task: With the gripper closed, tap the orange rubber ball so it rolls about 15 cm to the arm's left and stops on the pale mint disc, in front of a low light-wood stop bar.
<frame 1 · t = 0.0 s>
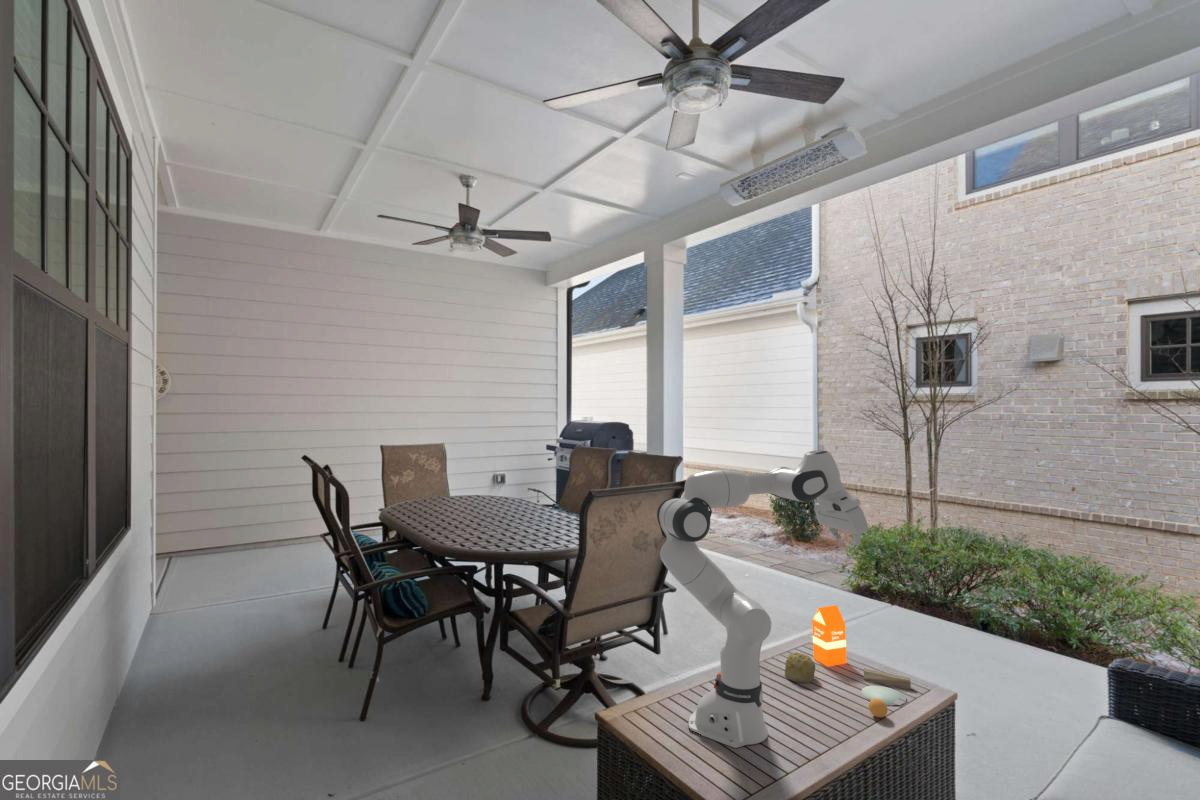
hand: (847, 541, 166), 52 cm above the table, tool tilted 20°, fingers open, 8 cm apart
ball: (878, 708, 161), on the table
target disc: (883, 695, 174), on the table
stop bar: (887, 683, 182), on the table
orange juice: (830, 661, 201), on the table
rock: (800, 678, 188), on the table
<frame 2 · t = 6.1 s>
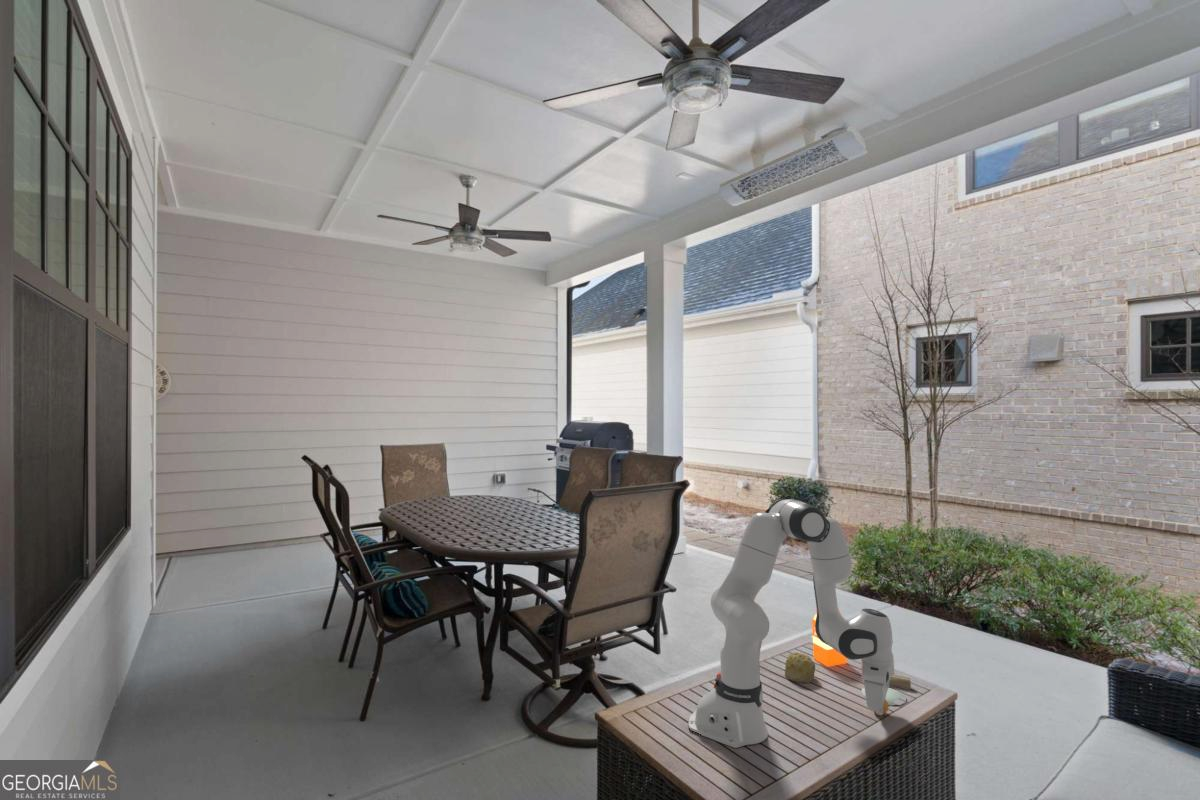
hand: (879, 712, 160), 2 cm above the table, tool pointing down, fingers closed
ball: (879, 704, 163), on the table, touching gripper
everything else where it was.
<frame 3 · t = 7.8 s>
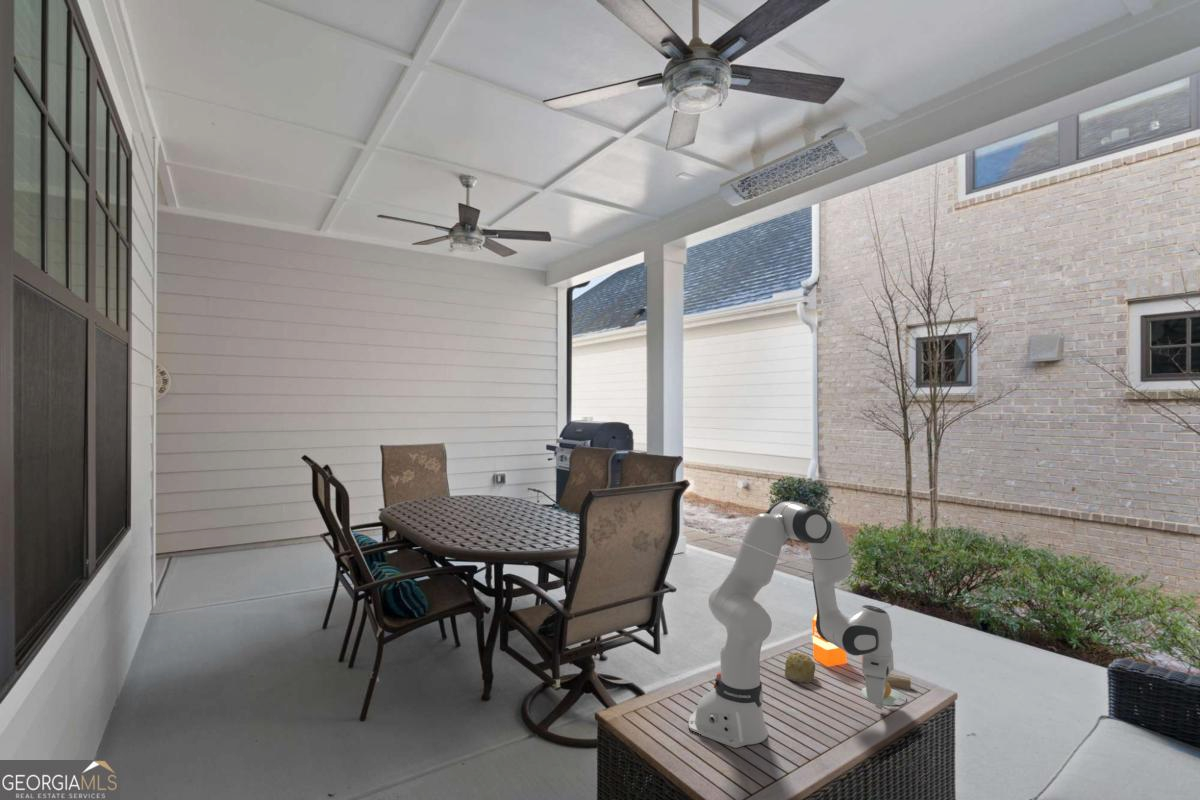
hand: (879, 706, 164), 2 cm above the table, tool pointing down, fingers closed
ball: (882, 688, 174), on the table
everything else where it was.
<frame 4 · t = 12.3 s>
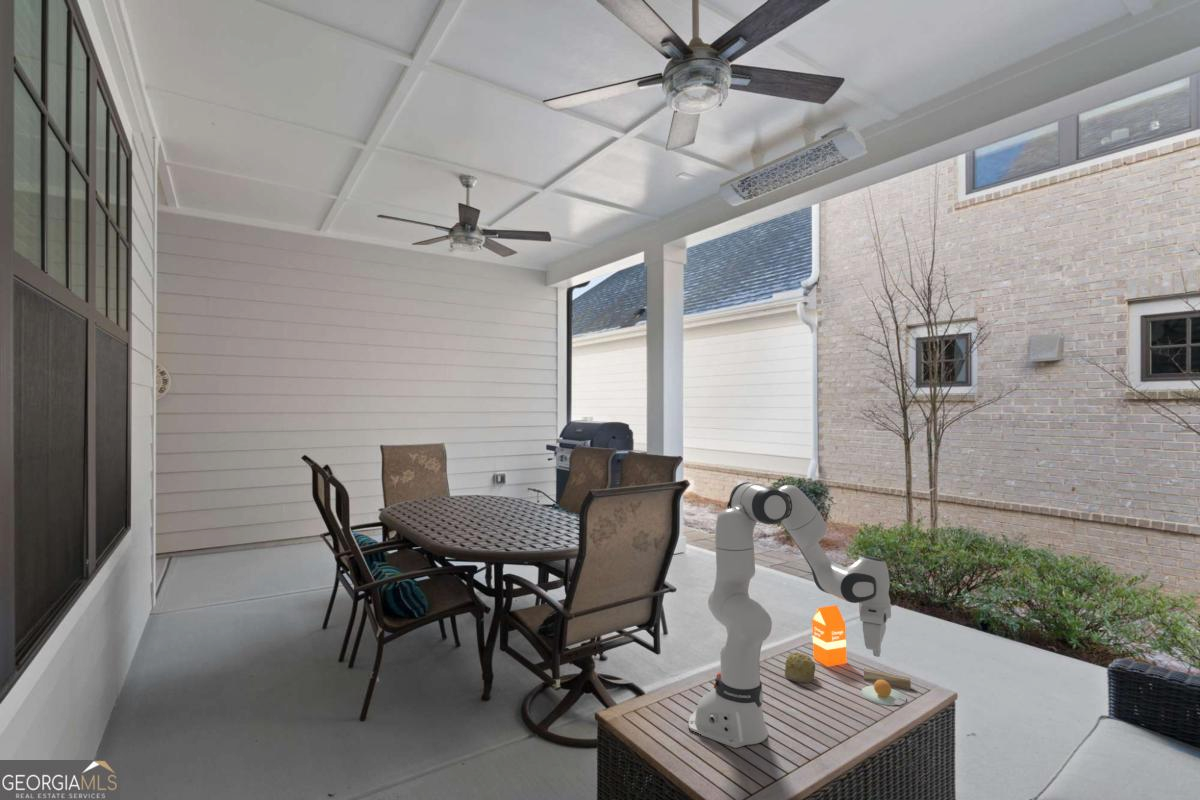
hand: (877, 654, 165), 17 cm above the table, tool pointing down, fingers closed
nothing on the table moved.
at the end: ball 0.4 cm from the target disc (horizontally); ball at rest at the end (0.0 cm/s); ball moved 14.6 cm from its start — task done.
